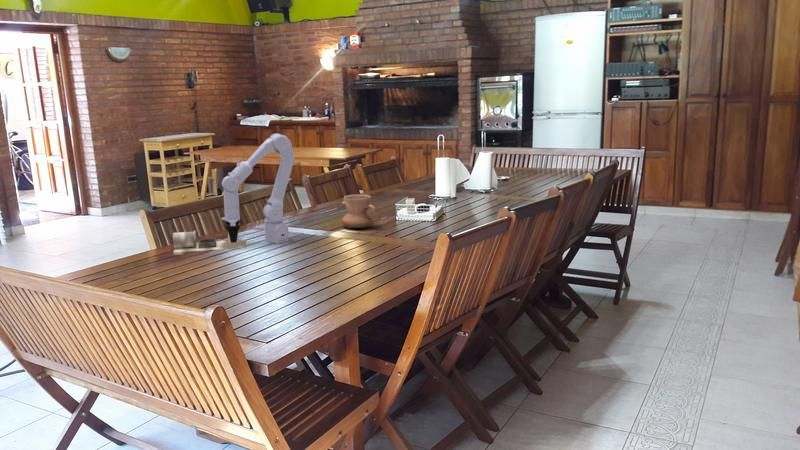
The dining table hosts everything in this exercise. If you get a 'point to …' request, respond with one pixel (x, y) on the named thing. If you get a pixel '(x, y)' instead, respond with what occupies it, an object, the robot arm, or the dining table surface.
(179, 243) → the motor mount
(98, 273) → the dining table surface
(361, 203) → the ceramic jug
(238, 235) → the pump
